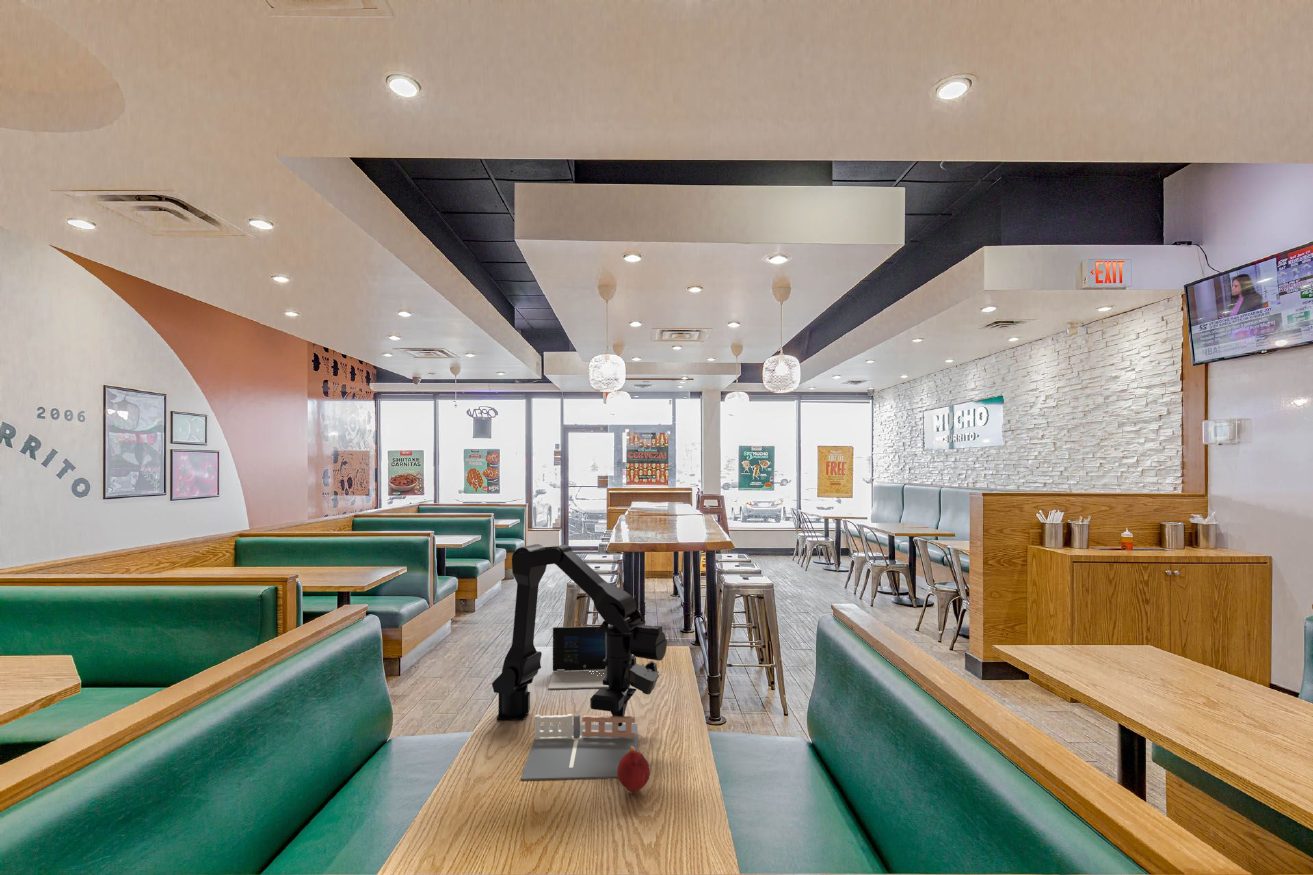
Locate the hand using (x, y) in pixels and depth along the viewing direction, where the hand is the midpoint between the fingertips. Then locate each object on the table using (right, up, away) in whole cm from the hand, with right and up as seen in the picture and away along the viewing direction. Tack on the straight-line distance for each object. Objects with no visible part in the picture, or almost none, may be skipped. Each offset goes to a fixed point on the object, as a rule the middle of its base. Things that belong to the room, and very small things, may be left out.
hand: (619, 725), depth 128 cm
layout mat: (-7, -2, -6) cm, 10 cm away
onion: (+4, -2, -22) cm, 22 cm away
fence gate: (-3, -2, -2) cm, 4 cm away
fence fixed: (-14, -2, -2) cm, 14 cm away
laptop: (-12, -4, +33) cm, 35 cm away
